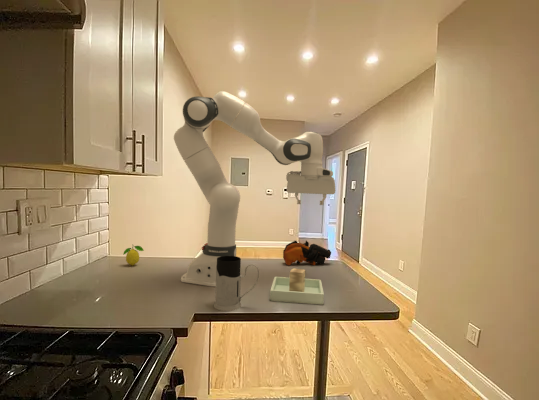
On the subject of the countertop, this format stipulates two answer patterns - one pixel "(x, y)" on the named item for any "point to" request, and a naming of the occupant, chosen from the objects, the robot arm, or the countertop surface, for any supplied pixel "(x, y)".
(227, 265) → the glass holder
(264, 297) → the countertop surface
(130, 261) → the lemon
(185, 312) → the countertop surface
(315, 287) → the tray
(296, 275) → the block
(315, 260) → the tool
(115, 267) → the countertop surface
